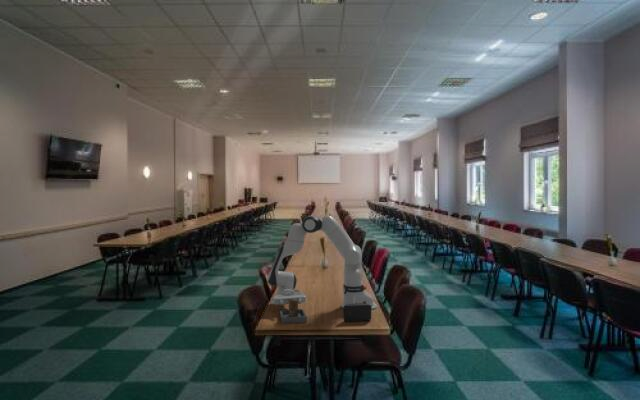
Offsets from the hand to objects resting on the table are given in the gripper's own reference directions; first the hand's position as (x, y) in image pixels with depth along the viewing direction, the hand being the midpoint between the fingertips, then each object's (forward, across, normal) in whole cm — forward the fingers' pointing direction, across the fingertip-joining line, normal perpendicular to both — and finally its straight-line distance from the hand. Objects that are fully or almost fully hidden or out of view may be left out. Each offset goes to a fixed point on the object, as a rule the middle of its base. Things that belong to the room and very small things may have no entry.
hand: (291, 303), depth 214 cm
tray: (+4, 0, +8) cm, 9 cm away
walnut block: (+4, 0, +7) cm, 8 cm away
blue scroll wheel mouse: (+18, +34, +8) cm, 39 cm away
